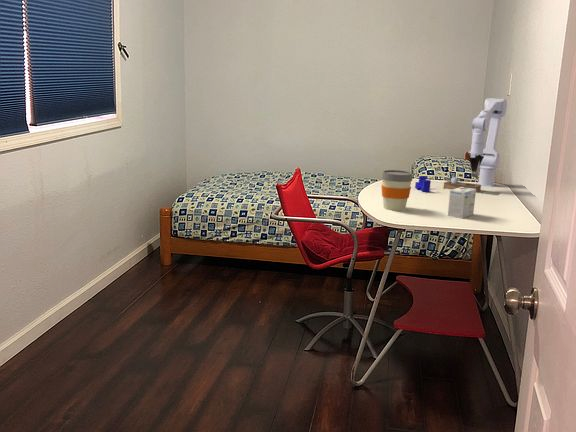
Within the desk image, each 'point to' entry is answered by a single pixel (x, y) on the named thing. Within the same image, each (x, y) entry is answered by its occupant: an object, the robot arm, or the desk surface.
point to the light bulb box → (461, 202)
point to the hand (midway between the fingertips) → (474, 171)
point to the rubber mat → (490, 193)
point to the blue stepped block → (423, 184)
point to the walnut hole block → (461, 185)
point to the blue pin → (454, 180)
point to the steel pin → (475, 174)
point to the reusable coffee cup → (395, 189)
